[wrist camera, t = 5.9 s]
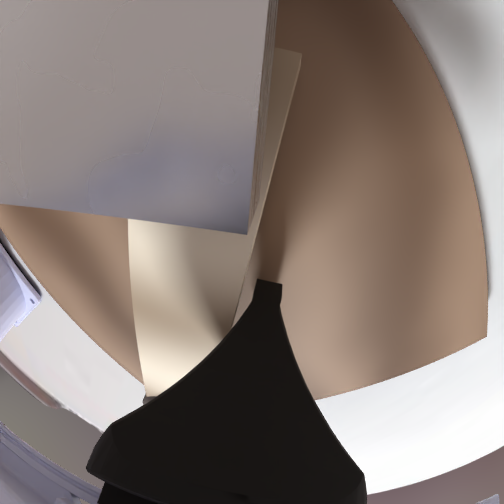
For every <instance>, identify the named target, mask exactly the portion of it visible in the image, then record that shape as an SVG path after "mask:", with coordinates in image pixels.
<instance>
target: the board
mask: <svg viewBox="0 0 504 504" xmlns="http://www.w3.org/2000/svg"><path fill="white" fill-rule="evenodd" d="M274 47H276V48H281V49H285V50H290V51H294V52H298V53H302V58H301V67H300V71H299V75H298V79H297V82H296V86H295V90H294V94H293V98H292V101H291V105H290V109H289V113H288V117H287V121H286V124H285V128H284V132H283V136H282V140H281V144H280V147H279V151H278V155H277V159H276V163H275V166H274V170H273V174H272V178H271V182H270V186H269V189H268V193H267V197H266V201H265V205H264V209H263V212H262V216H261V220H260V224H259V228H258V231H257V235H256V239H255V243H254V247H253V251H252V254H251V258H250V262H249V266H248V270H247V273H246V277H245V281H244V285H243V289H242V293H241V296H240V300H239V304H238V308H237V312H236V316H235V319H234V323H233V326H234V325H235V324H236V323H237V321H238V320H239V319H240V317H241V316H242V314H243V313H244V312H245V310H246V309H247V307H248V306H249V304H250V303H251V301H252V297H253V292H254V288H255V285H256V281H257V279H261V280H266V281H271V282H275V283H280V284H282V300H281V304H280V308H281V313H282V317H283V321H284V324H285V328H286V332H287V335H288V338H289V342H290V345H291V347H292V350H293V353H294V356H295V359H296V361H297V364H298V366H299V369H300V371H301V373H302V376H303V378H304V380H305V382H306V385H307V387H308V389H309V391H310V393H311V395H312V397H313V399H314V400H318V399H322V398H327V397H331V396H335V395H338V394H342V393H346V392H349V391H353V390H357V389H360V388H363V387H367V386H370V385H373V384H376V383H379V382H382V381H385V380H388V379H391V378H394V377H397V376H400V375H402V374H405V373H408V372H410V371H413V370H416V369H418V368H421V367H423V366H426V365H428V364H430V363H433V362H435V361H437V360H440V359H442V358H444V357H447V356H449V355H451V354H453V353H455V352H457V351H459V350H462V349H464V348H466V347H468V346H470V345H472V344H474V343H476V342H477V341H479V340H481V339H483V338H485V337H487V321H488V287H487V267H486V255H485V245H484V237H483V229H482V223H481V216H480V210H479V205H478V200H477V195H476V190H475V186H474V181H473V177H472V173H471V169H470V166H469V162H468V158H467V155H466V151H465V148H464V145H463V142H462V139H461V136H460V133H459V130H458V127H457V124H456V121H455V118H454V116H453V113H452V111H451V108H450V106H449V103H448V101H447V98H446V96H445V94H444V91H443V89H442V87H441V85H440V82H439V80H438V78H437V76H436V74H435V72H434V70H433V68H432V66H431V64H430V62H429V60H428V58H427V56H426V54H425V52H424V51H423V49H422V47H421V45H420V43H419V42H418V40H417V38H416V37H415V35H414V33H413V32H412V30H411V28H410V27H409V25H408V24H407V22H406V20H405V19H404V17H403V16H402V14H401V13H400V11H399V10H398V8H397V7H396V6H395V4H394V3H393V1H392V0H279V4H278V14H277V24H276V35H275V45H274ZM0 228H1V230H2V231H3V233H4V234H5V236H6V237H7V239H8V240H9V242H10V243H11V245H12V246H13V248H14V249H15V250H16V252H17V253H18V255H19V256H20V257H21V259H22V260H23V261H24V263H25V264H26V265H27V267H28V268H29V269H30V271H31V272H32V273H33V275H34V276H35V277H36V278H37V280H38V281H39V282H40V283H41V285H42V286H43V287H44V288H45V289H46V291H47V292H48V293H49V294H50V295H51V296H52V298H53V299H54V300H55V301H56V302H57V303H58V304H59V306H60V307H61V308H62V309H63V310H64V311H65V312H66V313H67V314H68V315H69V317H70V318H71V319H72V320H73V321H74V322H75V323H76V324H77V325H78V326H79V327H80V328H81V329H82V330H83V331H84V332H85V333H86V334H87V335H88V336H89V337H90V338H91V339H92V340H93V341H94V342H95V343H96V344H97V345H98V346H99V347H101V348H102V349H103V350H104V351H105V352H106V353H107V354H108V355H109V356H110V357H111V358H113V359H114V360H115V361H116V362H117V363H118V364H119V365H121V366H122V367H123V368H124V369H125V370H126V371H128V372H129V373H130V374H131V375H132V376H134V377H135V378H136V379H137V380H138V381H140V382H141V383H142V384H143V385H144V381H143V375H142V370H141V364H140V358H139V352H138V345H137V338H136V330H135V322H134V314H133V304H132V294H131V281H130V266H129V245H128V219H127V218H119V217H111V216H103V215H95V214H87V213H79V212H70V211H62V210H53V209H44V208H35V207H26V206H17V205H7V204H0ZM232 328H233V327H232Z"/></svg>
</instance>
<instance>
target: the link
mask: <svg viewBox="0 0 504 504" xmlns="http://www.w3.org/2000/svg"><path fill="white" fill-rule="evenodd" d="M301 58H302V53H298V52H294V51H290V50H285V49H281V48H276V47H274V55H273V66H272V76H271V86H270V96H269V106H268V117H267V127H266V137H265V147H264V157H263V167H262V177H261V187H260V197H259V203H258V206H257V209H256V212H255V214H254V217H253V220H252V223H251V226H250V229H249V232H248V234H247V235H244V234H237V233H230V232H223V231H216V230H209V229H202V228H195V227H187V226H180V225H173V224H165V223H158V222H150V221H143V220H135V219H128V245H129V266H130V281H131V294H132V304H133V314H134V322H135V330H136V338H137V345H138V352H139V358H140V364H141V370H142V375H143V381H144V386H145V391H146V394H145V397H144V399H143V404H144V405H145V404H146V403H148V402H149V401H151V400H152V399H154V398H155V397H157V396H158V395H159V394H161V393H162V392H164V391H165V390H167V389H168V388H169V387H171V386H172V385H174V384H175V383H176V382H177V381H179V380H180V379H181V378H182V377H184V376H185V375H186V374H187V373H188V372H190V371H191V370H192V369H193V368H194V367H195V366H196V365H198V364H199V363H200V362H201V361H202V360H203V359H204V358H205V357H206V356H207V355H208V354H209V353H210V352H211V351H212V350H213V349H214V348H215V347H216V346H217V345H218V344H219V343H220V342H221V341H222V340H223V338H224V337H225V336H226V335H227V334H228V332H229V331H230V330H231V329H232V327H233V323H234V319H235V316H236V312H237V308H238V304H239V300H240V296H241V293H242V289H243V285H244V281H245V277H246V273H247V270H248V266H249V262H250V258H251V254H252V251H253V247H254V243H255V239H256V235H257V231H258V228H259V224H260V220H261V216H262V212H263V209H264V205H265V201H266V197H267V193H268V189H269V186H270V182H271V178H272V174H273V170H274V166H275V163H276V159H277V155H278V151H279V147H280V144H281V140H282V136H283V132H284V128H285V124H286V121H287V117H288V113H289V109H290V105H291V101H292V98H293V94H294V90H295V86H296V82H297V79H298V75H299V71H300V67H301Z"/></svg>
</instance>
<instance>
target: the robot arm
mask: <svg viewBox="0 0 504 504" xmlns="http://www.w3.org/2000/svg"><path fill="white" fill-rule="evenodd" d="M281 300H282V284H280V283H275V282H271V281H266V280H261V279H257V281H256V285H255V288H254V292H253V297H252V301H251V303H250V304H249V306H248V307H247V309H246V310H245V312H244V313H243V314H242V316H241V317H240V319H239V320H238V321H237V323H236V324H235V325H234V326H233V328H232V329H231V330H230V331H229V332H228V334H227V335H226V336H225V337H224V338H223V340H222V341H221V342H220V343H219V344H218V345H217V346H216V347H215V348H214V349H213V350H212V351H211V352H210V353H209V354H208V355H207V356H206V357H205V358H204V359H203V360H202V361H201V362H200V363H199V364H198V365H196V366H195V367H194V368H193V369H192V370H191V371H190V372H188V373H187V374H186V375H185V376H184V377H182V378H181V379H180V380H179V381H177V382H176V383H175V384H174V385H172V386H171V387H169V388H168V389H167V390H165V391H164V392H162V393H161V394H159V395H158V396H157V397H155V398H154V399H152V400H151V401H149V402H148V403H146V404H145V405H143V406H141V407H140V408H138V409H136V410H134V411H133V412H131V413H129V414H127V415H126V416H124V417H122V418H120V419H118V420H117V421H115V422H113V423H112V424H111V425H110V426H109V427H108V428H107V429H106V431H105V432H104V433H103V434H102V436H101V437H100V439H99V441H98V442H97V444H96V445H95V447H94V449H93V452H92V454H91V456H90V459H89V461H88V464H87V466H86V469H87V471H88V472H89V473H90V474H92V475H94V476H96V477H97V478H99V479H101V480H103V481H105V483H104V486H103V488H102V489H100V488H99V487H97V486H95V485H93V484H91V483H89V482H87V481H85V480H83V479H81V478H80V477H78V476H76V475H74V474H73V473H71V472H69V471H67V470H66V469H64V468H62V467H61V466H59V465H58V464H56V463H54V462H53V461H51V460H50V459H48V458H47V457H45V456H44V455H42V454H41V453H40V452H38V451H37V450H35V449H34V448H32V447H31V446H30V445H28V444H27V443H26V442H24V441H23V440H22V439H20V438H19V437H18V436H17V435H15V434H14V433H13V432H12V431H11V430H9V429H8V428H7V427H6V425H5V424H3V423H2V422H1V421H0V504H82V503H81V502H80V498H81V499H83V500H85V501H87V502H88V503H90V504H367V491H366V483H365V477H364V473H363V472H362V471H361V469H360V468H359V467H358V466H357V465H356V463H355V462H354V461H353V460H352V458H351V457H350V456H349V454H348V453H347V451H346V450H345V449H344V447H343V446H342V445H341V443H340V442H339V440H338V439H337V437H336V436H335V434H334V433H333V431H332V430H331V428H330V427H329V425H328V423H327V421H326V420H325V418H324V416H323V415H322V413H321V411H320V409H319V408H318V406H317V404H316V402H315V401H314V399H313V397H312V395H311V393H310V391H309V389H308V387H307V385H306V382H305V380H304V378H303V376H302V373H301V371H300V369H299V366H298V364H297V361H296V359H295V356H294V353H293V350H292V347H291V345H290V342H289V338H288V335H287V332H286V328H285V324H284V321H283V317H282V313H281V308H280V304H281ZM40 302H41V297H40V295H39V294H38V293H37V292H36V290H35V289H34V288H33V287H32V285H31V284H30V283H29V282H28V280H27V279H26V278H25V277H24V275H23V274H22V273H21V271H20V270H19V269H18V267H17V266H16V265H15V263H14V262H13V261H12V259H11V258H10V256H9V255H8V253H7V252H6V251H5V249H4V248H3V246H2V245H1V243H0V342H1V340H2V339H3V338H4V336H5V335H6V334H7V333H8V331H9V330H10V329H11V328H12V326H13V325H14V326H16V327H17V326H18V325H19V324H20V323H21V322H22V321H23V320H24V319H25V318H26V317H27V316H28V315H29V313H30V312H31V311H32V310H33V309H34V308H35V307H36V306H37V305H38V304H39V303H40ZM476 504H499V495H498V494H496V495H494V496H492V497H489V498H487V499H485V500H483V501H480V502H478V503H476Z"/></svg>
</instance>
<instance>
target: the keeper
mask: <svg viewBox="0 0 504 504" xmlns="http://www.w3.org/2000/svg"><path fill="white" fill-rule="evenodd" d="M278 4H279V0H0V204H7V205H17V206H26V207H35V208H44V209H53V210H62V211H70V212H79V213H87V214H95V215H103V216H111V217H119V218H127V219H135V220H143V221H150V222H158V223H165V224H173V225H180V226H187V227H195V228H202V229H209V230H216V231H223V232H230V233H237V234H244V235H247V234H248V232H249V229H250V226H251V223H252V220H253V217H254V214H255V212H256V209H257V206H258V203H259V197H260V187H261V177H262V167H263V157H264V147H265V137H266V127H267V117H268V106H269V96H270V86H271V76H272V66H273V55H274V45H275V35H276V24H277V14H278Z"/></svg>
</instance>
